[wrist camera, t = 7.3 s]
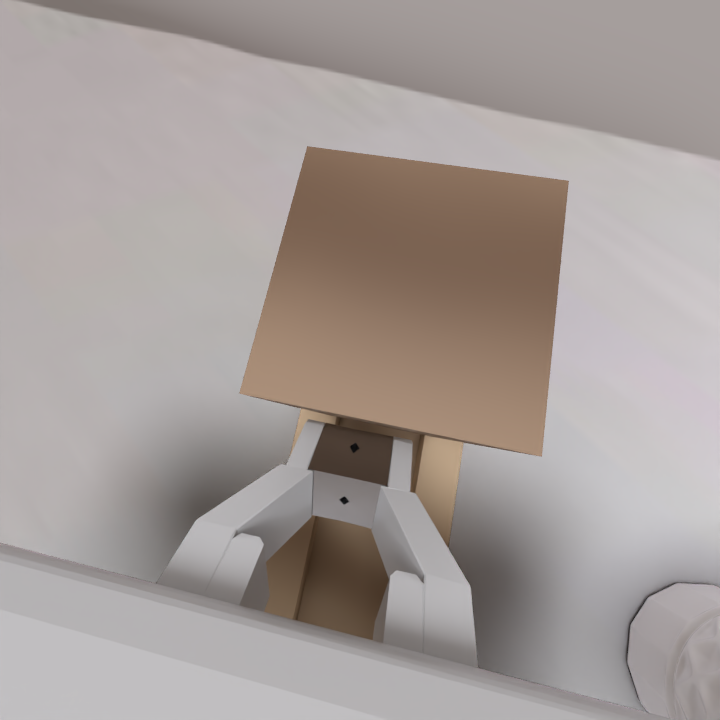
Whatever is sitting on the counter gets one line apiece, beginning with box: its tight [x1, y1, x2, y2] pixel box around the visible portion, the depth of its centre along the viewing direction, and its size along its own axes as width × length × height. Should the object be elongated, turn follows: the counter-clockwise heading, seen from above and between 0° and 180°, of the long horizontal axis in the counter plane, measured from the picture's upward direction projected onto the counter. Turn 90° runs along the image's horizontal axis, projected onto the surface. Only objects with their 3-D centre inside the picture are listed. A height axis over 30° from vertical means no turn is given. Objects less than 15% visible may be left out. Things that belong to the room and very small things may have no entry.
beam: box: [264, 408, 463, 640], centre depth 16 cm, size 24×7×4 cm, turn 168°
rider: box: [240, 146, 569, 456], centre depth 10 cm, size 4×4×10 cm
